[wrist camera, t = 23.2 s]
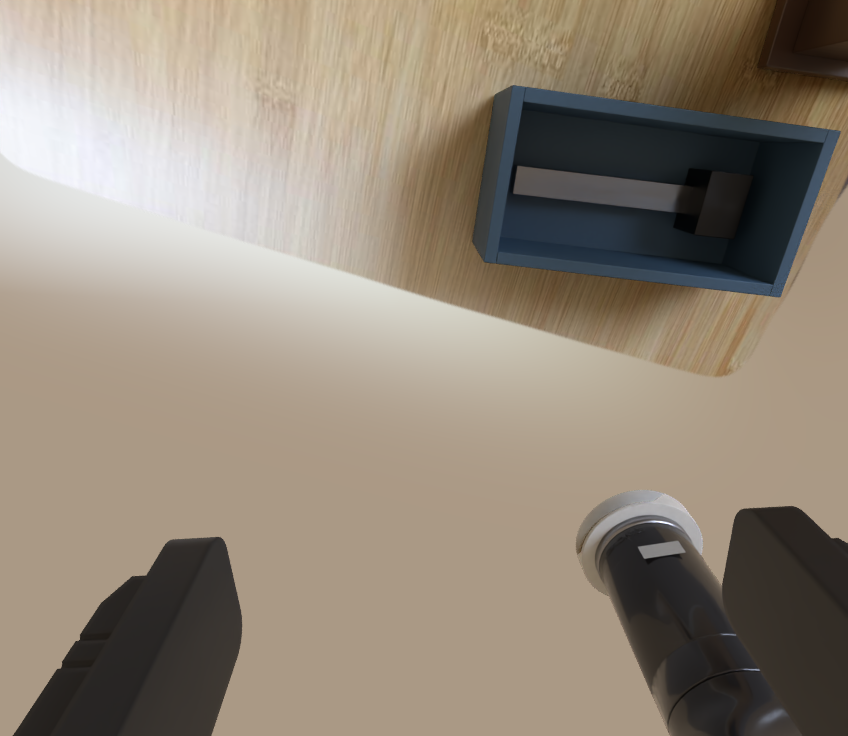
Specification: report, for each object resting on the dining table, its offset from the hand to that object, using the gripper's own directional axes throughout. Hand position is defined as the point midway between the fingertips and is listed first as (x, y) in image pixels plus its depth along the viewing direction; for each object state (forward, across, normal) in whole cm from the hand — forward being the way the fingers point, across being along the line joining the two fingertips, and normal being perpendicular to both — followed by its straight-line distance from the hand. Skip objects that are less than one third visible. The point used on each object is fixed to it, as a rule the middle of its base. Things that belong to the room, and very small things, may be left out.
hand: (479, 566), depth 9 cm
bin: (+38, -15, -2) cm, 41 cm away
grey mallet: (+37, -14, -2) cm, 40 cm away
